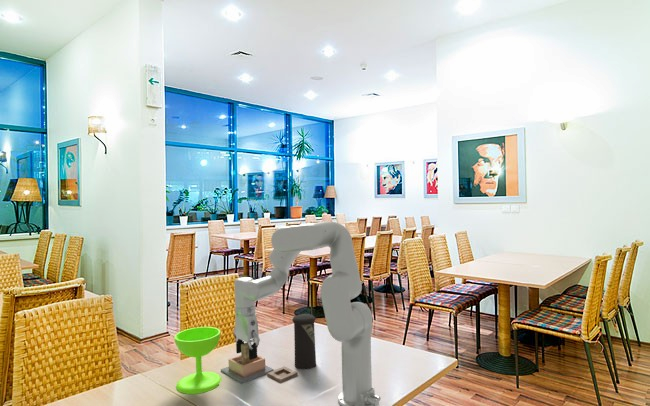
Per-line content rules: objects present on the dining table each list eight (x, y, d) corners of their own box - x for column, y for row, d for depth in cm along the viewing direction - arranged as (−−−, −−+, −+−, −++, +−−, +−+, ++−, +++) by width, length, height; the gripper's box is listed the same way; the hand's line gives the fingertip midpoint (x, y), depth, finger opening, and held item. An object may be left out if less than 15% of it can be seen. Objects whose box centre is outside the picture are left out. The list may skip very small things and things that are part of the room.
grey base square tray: (273, 372, 153) (273, 358, 153) (241, 384, 144) (241, 370, 144) (251, 361, 164) (251, 348, 164) (220, 372, 155) (220, 358, 155)
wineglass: (175, 378, 151) (174, 330, 151) (219, 370, 156) (218, 324, 156) (176, 397, 136) (174, 344, 136) (224, 388, 141) (223, 337, 141)
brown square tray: (297, 376, 149) (297, 372, 149) (280, 383, 144) (280, 379, 144) (284, 370, 155) (284, 366, 155) (267, 377, 150) (267, 373, 150)
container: (313, 371, 153) (312, 319, 153) (291, 370, 155) (289, 318, 155) (318, 362, 162) (317, 312, 162) (297, 361, 164) (295, 312, 163)
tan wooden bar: (252, 367, 154) (252, 344, 154) (245, 370, 152) (245, 346, 152) (248, 365, 156) (247, 342, 156) (241, 367, 154) (241, 344, 154)
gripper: (266, 312, 150) (268, 358, 150) (241, 304, 163) (242, 347, 163) (249, 316, 145) (250, 364, 145) (225, 308, 158) (226, 352, 158)
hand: (246, 355), depth 154 cm, fingers open, 8 cm apart
